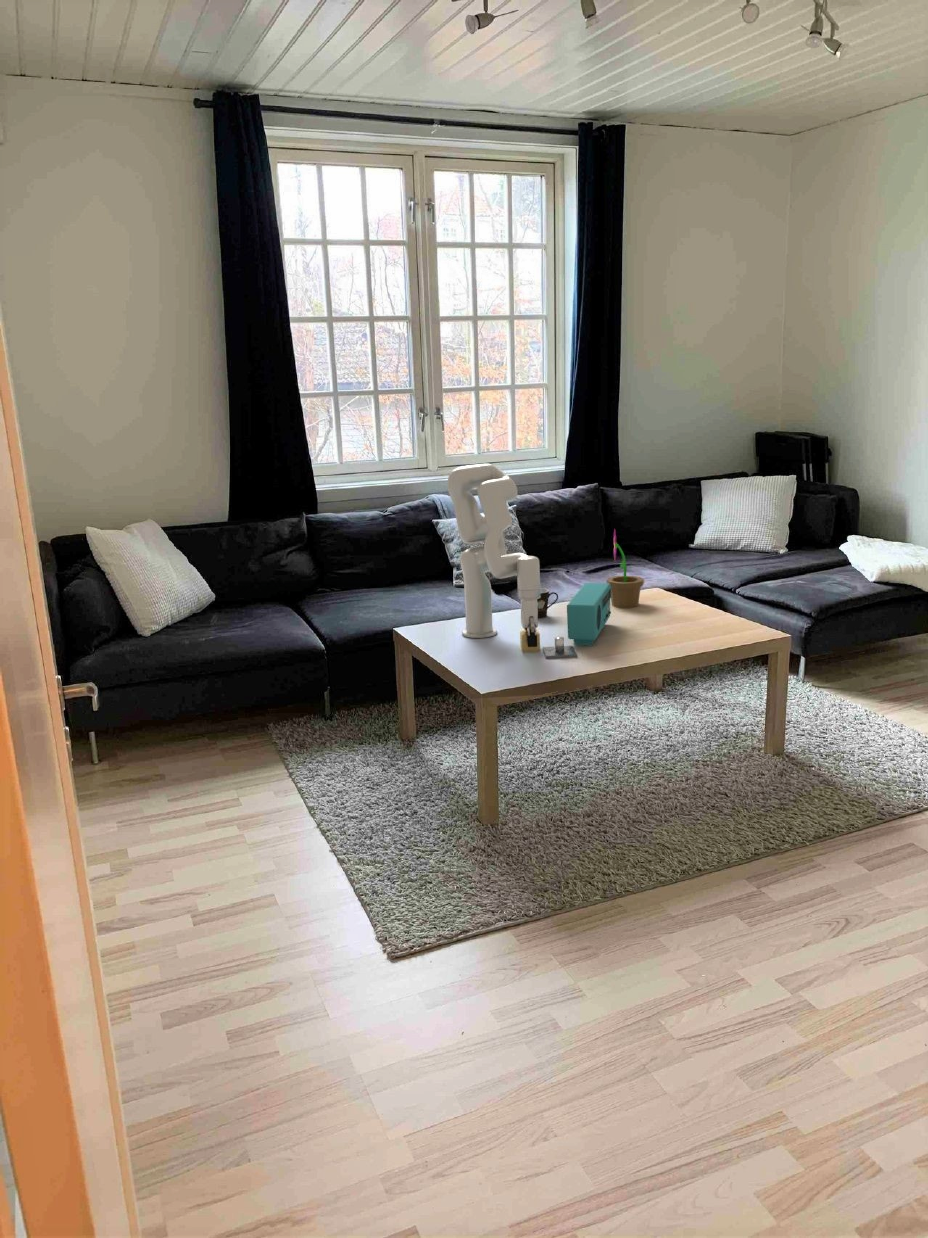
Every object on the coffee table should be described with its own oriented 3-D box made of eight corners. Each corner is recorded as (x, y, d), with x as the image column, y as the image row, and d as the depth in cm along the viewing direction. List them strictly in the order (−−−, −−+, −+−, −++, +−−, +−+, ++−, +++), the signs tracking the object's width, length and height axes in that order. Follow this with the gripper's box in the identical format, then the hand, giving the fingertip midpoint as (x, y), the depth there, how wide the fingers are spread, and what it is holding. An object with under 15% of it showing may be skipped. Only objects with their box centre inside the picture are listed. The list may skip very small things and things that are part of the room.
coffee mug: (525, 618, 360) (524, 593, 358) (528, 613, 368) (528, 588, 366) (555, 619, 358) (555, 593, 355) (558, 613, 366) (558, 588, 363)
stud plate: (542, 650, 320) (542, 634, 319) (572, 648, 321) (572, 633, 319) (546, 658, 311) (546, 642, 309) (576, 657, 311) (576, 641, 310)
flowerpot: (605, 600, 382) (605, 526, 374) (642, 600, 381) (642, 525, 373) (607, 609, 368) (607, 533, 361) (645, 609, 367) (645, 532, 359)
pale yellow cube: (520, 646, 325) (520, 629, 323) (538, 646, 325) (537, 629, 324) (522, 652, 319) (521, 634, 318) (540, 651, 319) (539, 633, 318)
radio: (597, 649, 319) (597, 605, 315) (566, 647, 322) (566, 604, 318) (613, 622, 350) (613, 582, 347) (585, 621, 354) (584, 582, 350)
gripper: (515, 588, 325) (517, 636, 330) (520, 599, 309) (522, 650, 313) (537, 587, 326) (539, 635, 330) (543, 598, 309) (545, 649, 313)
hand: (531, 642), depth 321 cm, fingers open, 9 cm apart
